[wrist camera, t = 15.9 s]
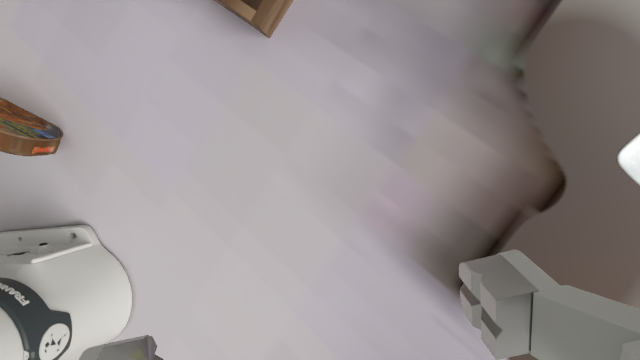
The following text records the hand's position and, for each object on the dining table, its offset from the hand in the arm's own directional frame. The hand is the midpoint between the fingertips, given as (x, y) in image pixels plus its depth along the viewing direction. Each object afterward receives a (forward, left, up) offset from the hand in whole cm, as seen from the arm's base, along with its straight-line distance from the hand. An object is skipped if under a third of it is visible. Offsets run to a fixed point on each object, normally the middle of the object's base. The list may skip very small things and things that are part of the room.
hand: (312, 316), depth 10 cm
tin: (-44, +4, -35) cm, 57 cm away
